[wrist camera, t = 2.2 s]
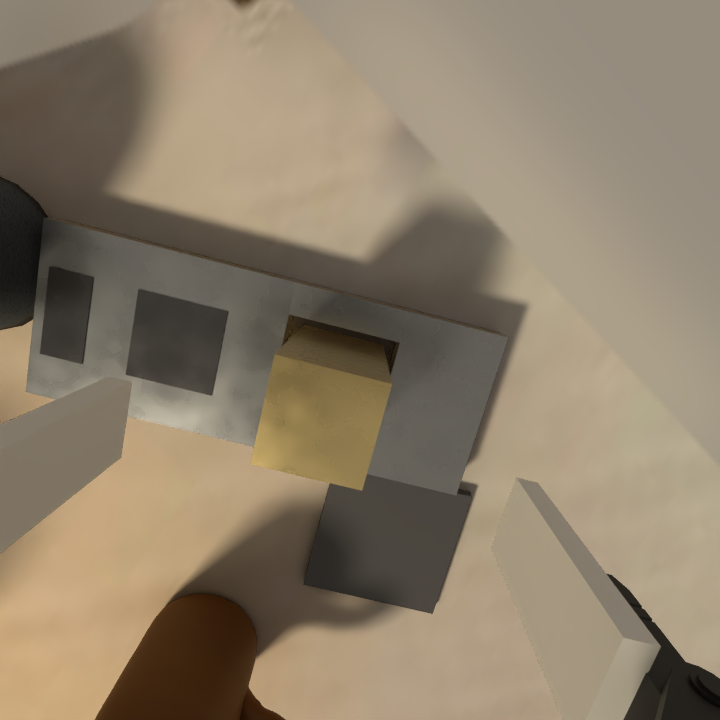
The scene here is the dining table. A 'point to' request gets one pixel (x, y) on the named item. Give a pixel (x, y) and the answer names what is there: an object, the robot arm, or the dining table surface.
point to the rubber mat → (387, 542)
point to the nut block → (323, 407)
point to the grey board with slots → (244, 347)
